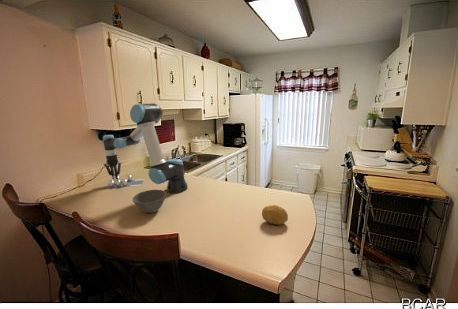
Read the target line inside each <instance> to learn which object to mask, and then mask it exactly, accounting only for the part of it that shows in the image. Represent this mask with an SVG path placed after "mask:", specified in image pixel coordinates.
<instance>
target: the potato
mask: <svg viewBox="0 0 458 309" xmlns="http://www.w3.org/2000/svg"><path fill="white" fill-rule="evenodd" d="M261 216H262V219H263V220H264V221H266V222H268V223H269V224H272V225H279V226H281V225H284V224H285V223H287V221H288V220H289V217H288V216H289V215H288V213H287V210H286V209H284V208H283V207H281V206H280V205H277V204H274V205H272V204H271V205H268V206H265V207H264V208H262V211H261Z"/></svg>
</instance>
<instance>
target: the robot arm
mask: <svg viewBox="0 0 458 309" xmlns="http://www.w3.org/2000/svg"><path fill="white" fill-rule="evenodd" d="M129 116H130V120H131V121H132V122H133V123H135V124H136V127H135V129H134V130H133V131H131V133H130V134H129V135H127V136H122V137H117V138H116V137H114V134H105V135H103V136H102V142H103V147H104V152H105V154H104V155H105V157H106V158H105V159H106V163H104V164H103V166H104V167H105V169H106V171H107V173H108V175H109V176H111V178H112V180H113V182H114V183H115V184H116V180H117V179H118V176H119V175H120V174H121V169H122V168H121V165H122V162H121V161H119V160H118V155H117V149H125V148H126V147H130V146H135V145H138V144H139V143H140V142H141V138H142V137H143V139H144V140H143V141H144V144H145V146H146V149H147V150H146V151H147V153H148V156H149V159H150V165H149V168H150V169H149V170H148V173H147V174H148V177H149V180H150V181H151V182H152V183H154V184H156V185H160V184H164V183H166V182H167V185H166V190H167V192H168V193H170V194H176V193H177V194H178V193H182V192H185V191H186V190H188V183H187V181H186V179H185V170H184V163H183V162H184V161H183V160H182V159H179V158H178V159H177V158H170V159H165V157H164V154H163V150H162V147H161V145H160V141H159V137H158V134H157V131H156V128H155V125H156V124H158V123H159V122H160V120H161V119H162V118H163V110H162V107H161V106H160V105H158V104H156V103H154V102H153V103H136V104H134V105H132V106H131V108H130V111H129Z"/></svg>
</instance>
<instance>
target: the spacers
mask: <svg viewBox="0 0 458 309" xmlns="http://www.w3.org/2000/svg"><path fill="white" fill-rule="evenodd" d="M126 176H127V178H125V179H120V177H119V175H118V179H117V180H116V185H117V188H121V187H120V186H121V183H120V180H122V181H123V186H124V187H123V188H126V186H127V181H128V182H131V181H132V180H133V179H132V174H128V175H126ZM109 184H110V188H109V189H113V188H112V187H114V179H111V180H108V185H109Z"/></svg>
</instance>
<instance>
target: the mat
mask: <svg viewBox="0 0 458 309" xmlns="http://www.w3.org/2000/svg"><path fill="white" fill-rule="evenodd" d="M145 180H146V179H132V181H131V182H128V180H127V186H126V187H127V188H128V187H140V186H142V184H143V183H145V182H144V181H145ZM126 187H124V186H123V185H121V186H120V187H119V188H126ZM114 188H115V189H116V188H118V187H117V185H116V184H115V183H114V187H112V188H110V184H109V183H108V185H106V187H105V189H114Z"/></svg>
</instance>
